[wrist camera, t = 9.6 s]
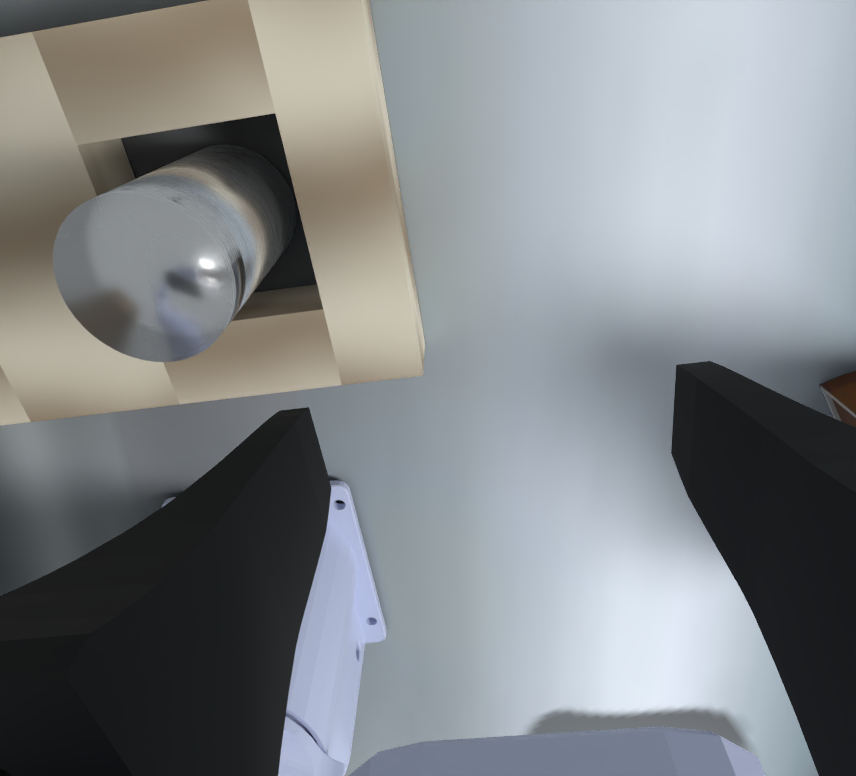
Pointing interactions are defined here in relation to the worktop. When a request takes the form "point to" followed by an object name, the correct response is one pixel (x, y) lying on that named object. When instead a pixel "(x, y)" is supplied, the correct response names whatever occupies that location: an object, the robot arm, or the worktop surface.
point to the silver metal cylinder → (174, 252)
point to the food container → (842, 397)
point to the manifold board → (110, 168)
